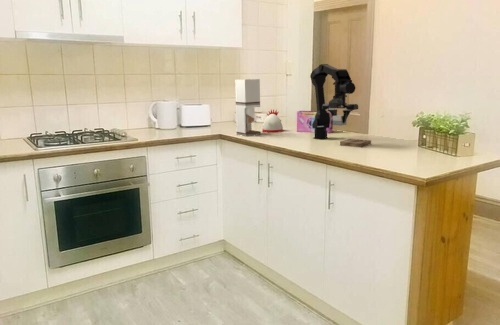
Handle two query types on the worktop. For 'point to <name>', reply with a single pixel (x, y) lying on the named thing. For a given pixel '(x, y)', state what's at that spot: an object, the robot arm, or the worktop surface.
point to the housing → (338, 120)
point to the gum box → (310, 121)
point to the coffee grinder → (246, 105)
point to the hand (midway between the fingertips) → (339, 122)
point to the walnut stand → (355, 143)
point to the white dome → (272, 123)
